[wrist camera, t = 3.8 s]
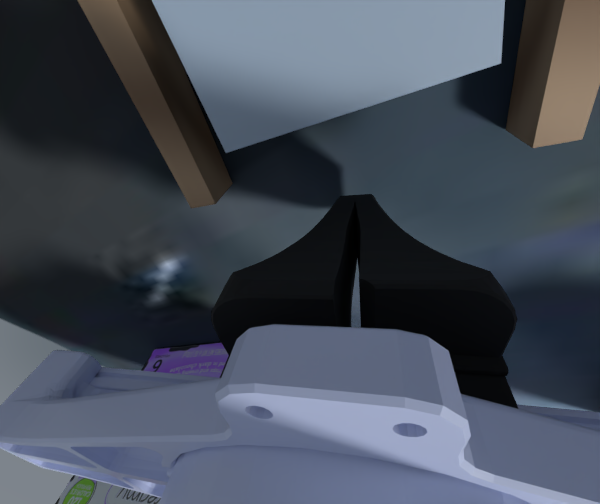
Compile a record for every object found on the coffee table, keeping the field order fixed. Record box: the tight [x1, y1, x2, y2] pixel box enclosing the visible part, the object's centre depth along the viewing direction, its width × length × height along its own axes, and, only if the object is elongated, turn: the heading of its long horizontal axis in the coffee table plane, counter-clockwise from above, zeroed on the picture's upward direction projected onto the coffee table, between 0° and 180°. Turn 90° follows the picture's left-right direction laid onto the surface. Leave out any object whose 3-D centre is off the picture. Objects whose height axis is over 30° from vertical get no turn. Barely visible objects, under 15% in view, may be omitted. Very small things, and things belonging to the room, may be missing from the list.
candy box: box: [55, 342, 229, 504], centre depth 17 cm, size 14×6×16 cm, turn 112°
